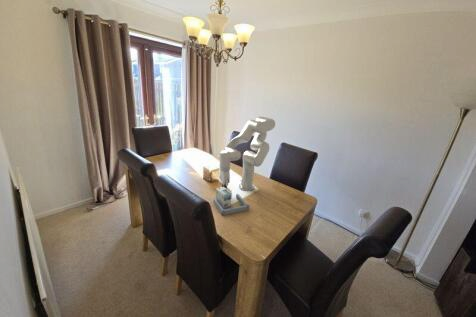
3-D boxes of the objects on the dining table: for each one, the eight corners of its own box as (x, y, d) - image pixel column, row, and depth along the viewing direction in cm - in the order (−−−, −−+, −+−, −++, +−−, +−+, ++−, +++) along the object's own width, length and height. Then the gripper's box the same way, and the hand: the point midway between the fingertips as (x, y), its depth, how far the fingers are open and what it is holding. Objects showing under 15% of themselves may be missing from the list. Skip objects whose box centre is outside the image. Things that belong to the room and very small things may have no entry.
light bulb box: (231, 206, 141) (232, 192, 138) (223, 209, 137) (224, 194, 134) (222, 199, 149) (223, 186, 146) (214, 201, 145) (215, 188, 142)
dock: (213, 201, 145) (213, 198, 144) (237, 197, 153) (238, 193, 152) (222, 215, 130) (222, 211, 129) (248, 209, 139) (249, 205, 138)
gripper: (216, 164, 152) (216, 186, 158) (224, 172, 139) (223, 195, 146) (225, 163, 155) (225, 184, 161) (233, 170, 142) (233, 193, 149)
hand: (224, 189), depth 154 cm, fingers closed
